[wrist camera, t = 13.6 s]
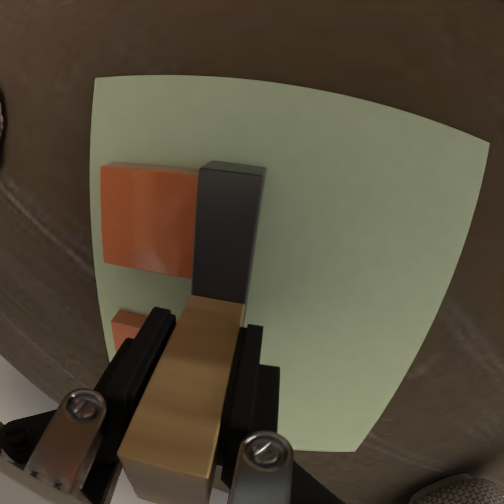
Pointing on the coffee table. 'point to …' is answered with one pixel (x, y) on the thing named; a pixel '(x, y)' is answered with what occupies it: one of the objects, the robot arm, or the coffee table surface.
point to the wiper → (198, 346)
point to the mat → (306, 230)
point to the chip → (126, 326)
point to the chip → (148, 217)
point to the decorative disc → (1, 122)
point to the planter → (459, 491)
